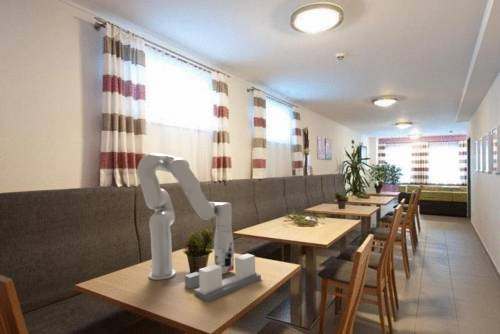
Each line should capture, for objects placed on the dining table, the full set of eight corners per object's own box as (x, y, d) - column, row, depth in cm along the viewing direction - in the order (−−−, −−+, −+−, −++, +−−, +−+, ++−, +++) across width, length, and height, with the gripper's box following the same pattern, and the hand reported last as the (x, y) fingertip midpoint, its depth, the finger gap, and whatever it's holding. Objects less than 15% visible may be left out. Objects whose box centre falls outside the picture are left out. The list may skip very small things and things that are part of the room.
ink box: (228, 267, 152) (228, 244, 151) (234, 270, 148) (234, 246, 147) (213, 271, 146) (213, 247, 146) (219, 274, 142) (219, 250, 142)
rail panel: (194, 294, 124) (193, 268, 124) (245, 274, 145) (245, 251, 145) (208, 301, 117) (208, 274, 117) (260, 279, 138) (260, 256, 138)
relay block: (185, 286, 133) (184, 275, 133) (196, 282, 137) (195, 271, 137) (190, 289, 130) (189, 277, 130) (201, 284, 134) (201, 273, 134)
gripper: (207, 226, 150) (207, 262, 150) (229, 231, 138) (229, 270, 138) (218, 224, 155) (218, 258, 155) (241, 229, 143) (241, 266, 143)
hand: (224, 264), depth 147 cm, fingers closed on ink box, 5 cm apart
